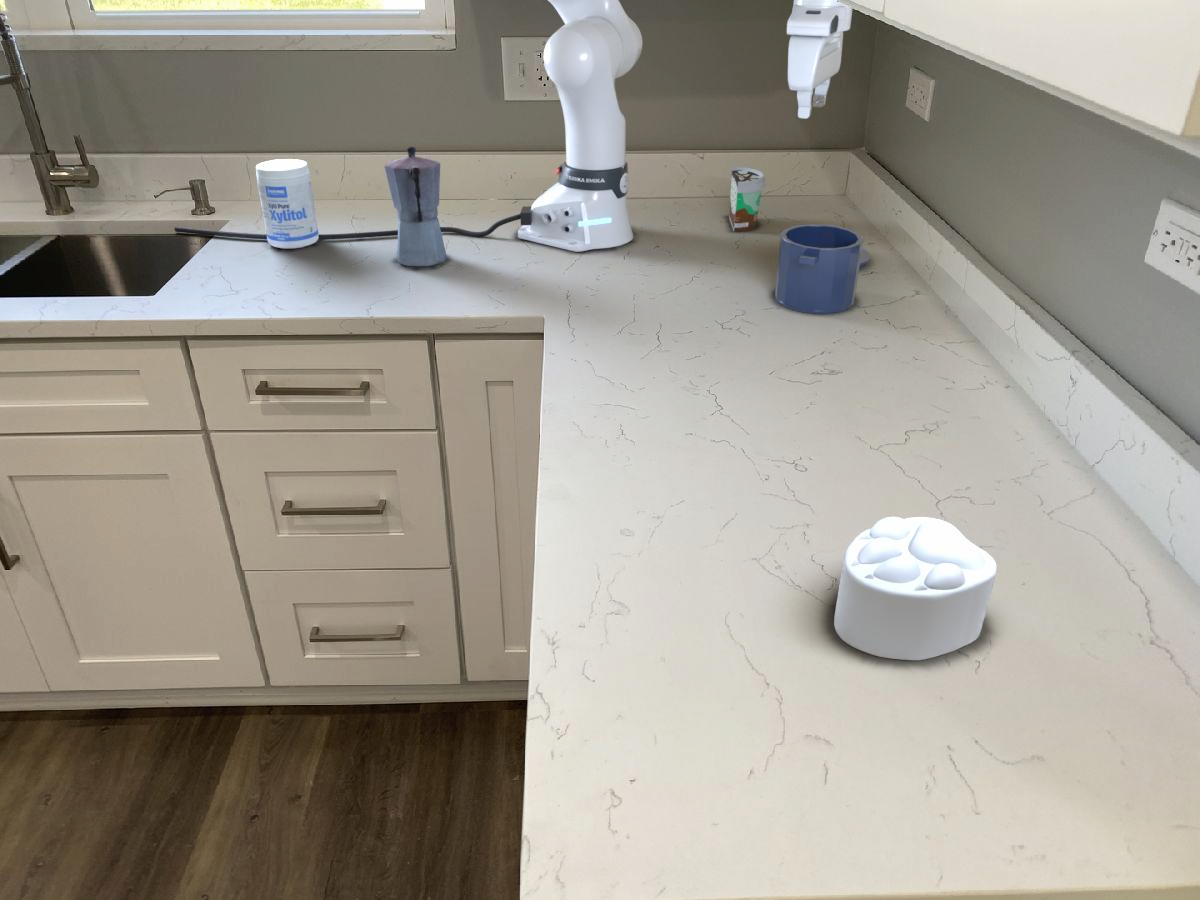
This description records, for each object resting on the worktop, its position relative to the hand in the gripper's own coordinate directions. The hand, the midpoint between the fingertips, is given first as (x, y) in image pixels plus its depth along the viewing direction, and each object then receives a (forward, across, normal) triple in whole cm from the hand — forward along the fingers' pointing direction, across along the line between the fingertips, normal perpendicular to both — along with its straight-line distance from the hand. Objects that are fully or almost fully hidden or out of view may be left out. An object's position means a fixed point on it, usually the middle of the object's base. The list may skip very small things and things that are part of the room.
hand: (811, 112), depth 147 cm
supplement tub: (+27, +22, -92) cm, 98 cm away
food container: (+27, -24, -16) cm, 40 cm away
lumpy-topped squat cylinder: (+27, +84, +32) cm, 94 cm away
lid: (+26, -10, +4) cm, 29 cm away
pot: (+27, +10, +6) cm, 29 cm away
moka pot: (+27, +21, -63) cm, 72 cm away
